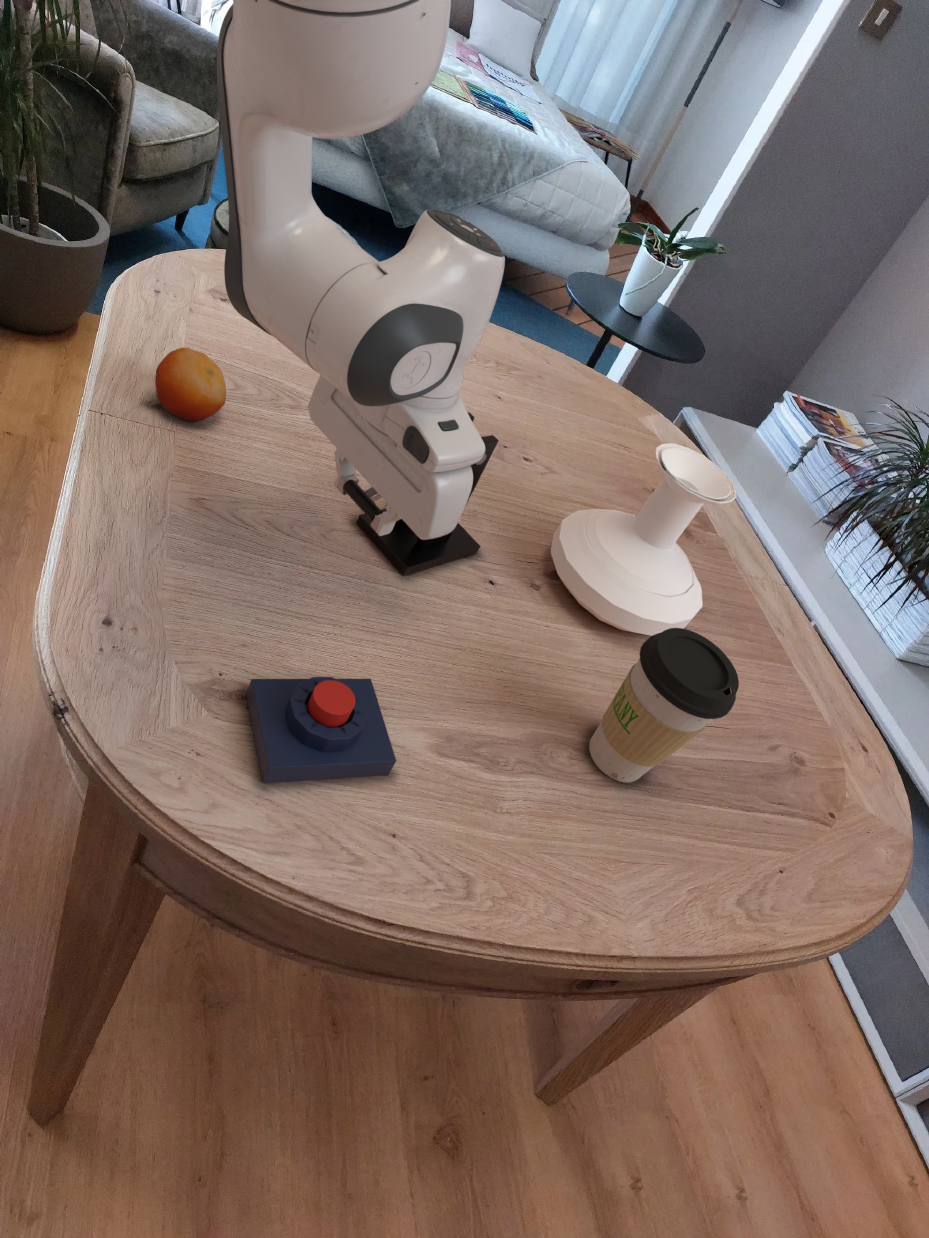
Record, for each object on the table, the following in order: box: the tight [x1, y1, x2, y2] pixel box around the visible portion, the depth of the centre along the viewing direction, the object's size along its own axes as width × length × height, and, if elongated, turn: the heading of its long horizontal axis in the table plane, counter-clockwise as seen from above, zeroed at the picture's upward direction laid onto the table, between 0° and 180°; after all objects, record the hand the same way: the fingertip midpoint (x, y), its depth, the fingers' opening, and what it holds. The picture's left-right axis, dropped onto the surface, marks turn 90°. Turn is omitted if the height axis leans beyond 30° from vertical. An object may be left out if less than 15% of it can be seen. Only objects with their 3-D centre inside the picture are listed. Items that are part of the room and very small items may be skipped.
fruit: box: [150, 347, 227, 423], centre depth 95 cm, size 8×8×8 cm
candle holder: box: [550, 442, 738, 637], centre depth 100 cm, size 20×20×19 cm
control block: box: [245, 676, 397, 784], centre depth 71 cm, size 11×9×4 cm
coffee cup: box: [588, 628, 740, 783], centre depth 81 cm, size 10×10×15 cm
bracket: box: [355, 411, 499, 577], centre depth 93 cm, size 12×9×16 cm
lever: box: [343, 433, 482, 522], centre depth 87 cm, size 15×5×2 cm, turn 133°
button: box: [308, 680, 355, 727], centre depth 70 cm, size 4×4×2 cm
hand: (362, 510), depth 85 cm, fingers closed on lever, 5 cm apart
